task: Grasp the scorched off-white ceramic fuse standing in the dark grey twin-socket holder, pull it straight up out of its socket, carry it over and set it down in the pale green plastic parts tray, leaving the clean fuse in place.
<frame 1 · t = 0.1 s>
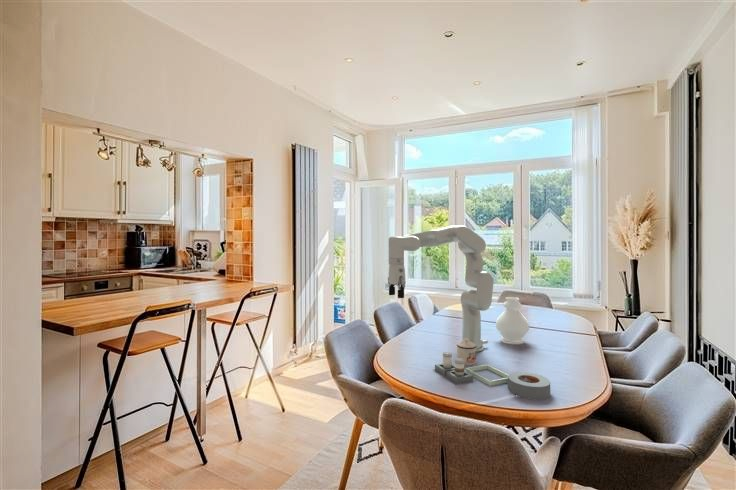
hand: (396, 296, 177), 31 cm above the table, fingers open, 9 cm apart
parts tray: (488, 378, 154), on the table
tape roll: (528, 392, 141), on the table
teacup with lid: (468, 362, 173), on the table
fuse holder: (453, 376, 156), on the table
decorative vase: (512, 341, 207), on the table
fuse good: (447, 371, 160), point 1 cm above the table, touching fuse holder
fuse blown: (459, 378, 151), point 1 cm above the table, touching fuse holder
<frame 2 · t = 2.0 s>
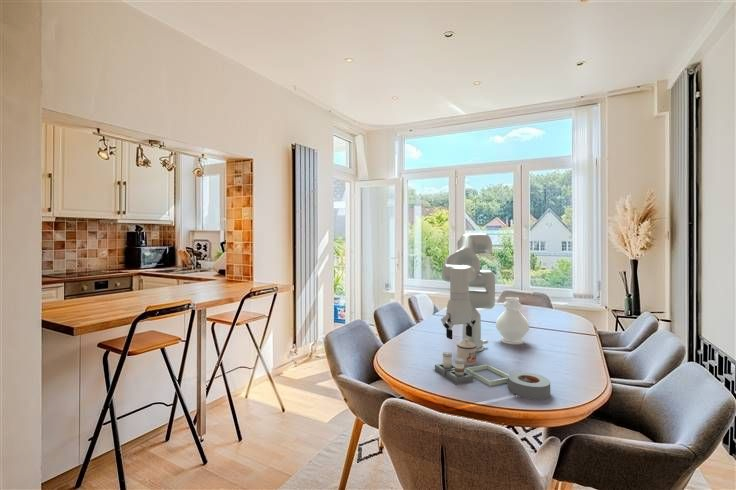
hand: (459, 337, 151), 18 cm above the table, fingers open, 9 cm apart
nothing on the table moved.
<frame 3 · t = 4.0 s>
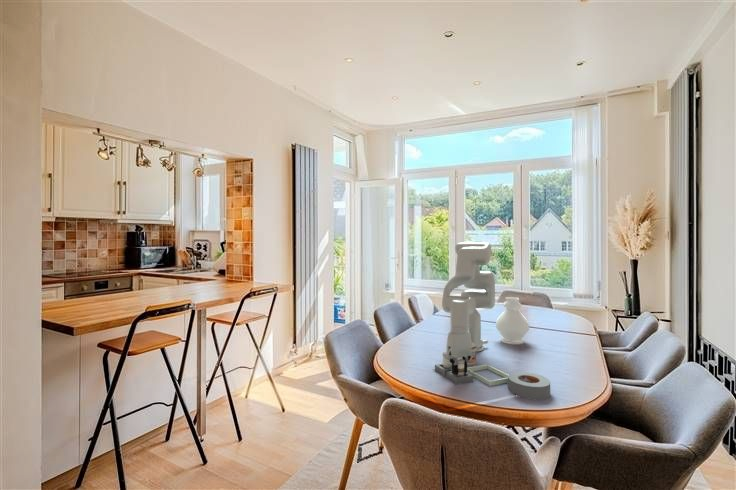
hand: (459, 372, 151), 4 cm above the table, fingers closed on fuse blown, 3 cm apart
fuse blown: (459, 378, 151), point 1 cm above the table, touching fuse holder, gripper
everything else where it was.
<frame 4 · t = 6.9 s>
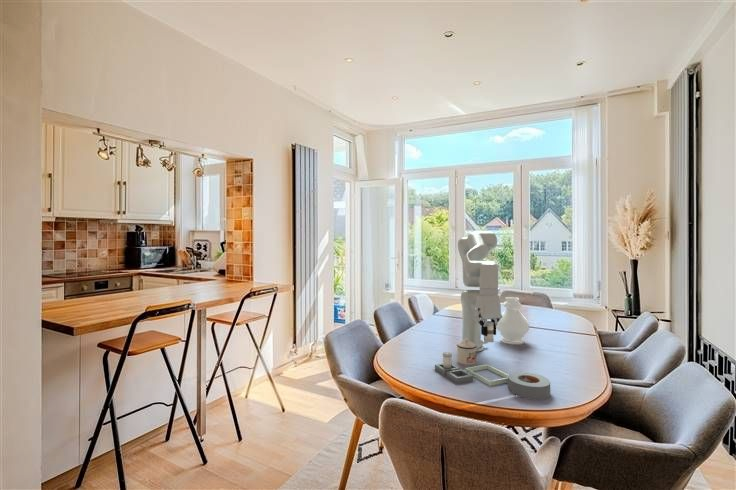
hand: (488, 334, 153), 19 cm above the table, fingers closed on fuse blown, 3 cm apart
fuse blown: (488, 340, 153), point 16 cm above the table, touching gripper
everything else where it was.
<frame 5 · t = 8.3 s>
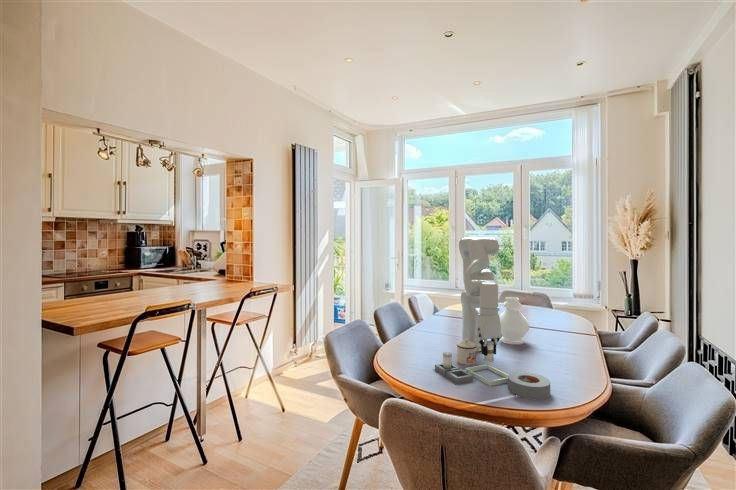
hand: (488, 353, 153), 11 cm above the table, fingers closed on fuse blown, 3 cm apart
fuse blown: (488, 360, 153), point 8 cm above the table, touching gripper
everything else where it was.
when the fingers open (5 cm above the table, at t = 9.7 s): fuse blown drops 1 cm, resting on parts tray.
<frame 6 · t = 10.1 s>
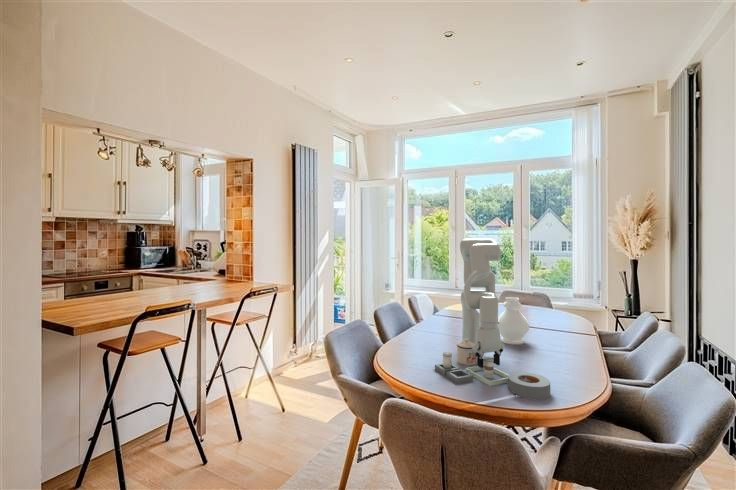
hand: (488, 365, 154), 5 cm above the table, fingers open, 8 cm apart
fuse blown: (488, 376, 154), point 1 cm above the table, touching parts tray
everything else where it was.
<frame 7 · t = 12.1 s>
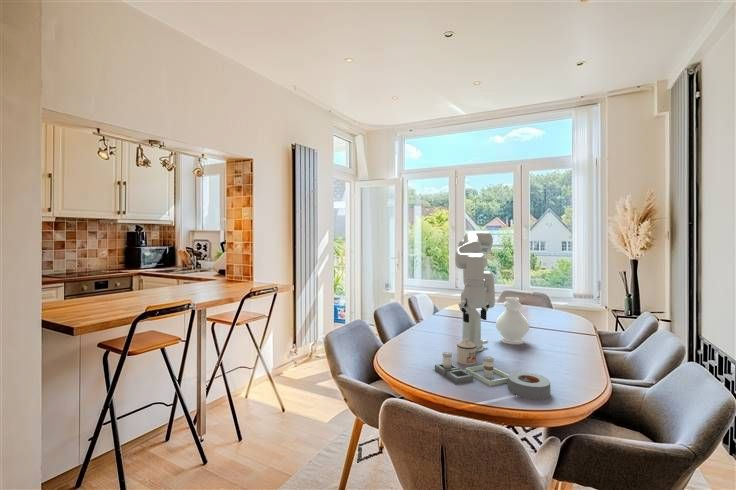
hand: (474, 320, 162), 23 cm above the table, fingers open, 9 cm apart
nothing on the table moved.
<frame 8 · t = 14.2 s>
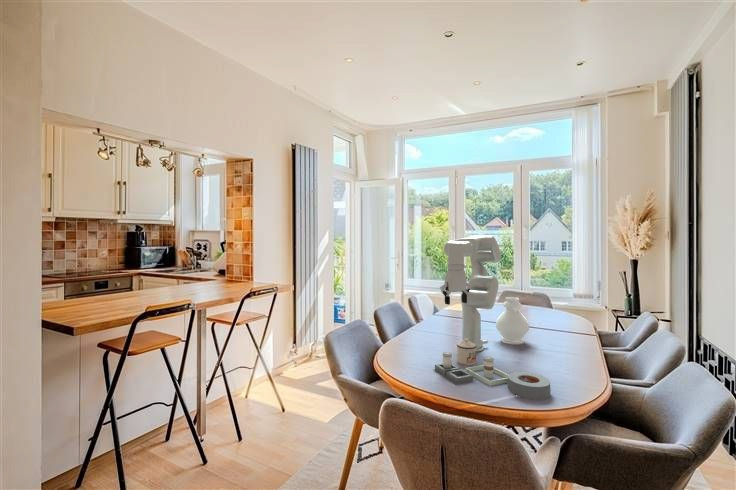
hand: (455, 303, 173), 28 cm above the table, fingers open, 9 cm apart
nothing on the table moved.
at the end: fuse blown inside the target area on the parts tray (0.1 cm from its centre), point 0.6 cm above the parts tray's base; the gripper is holding nothing; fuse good moved 0.0 cm from its start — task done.
